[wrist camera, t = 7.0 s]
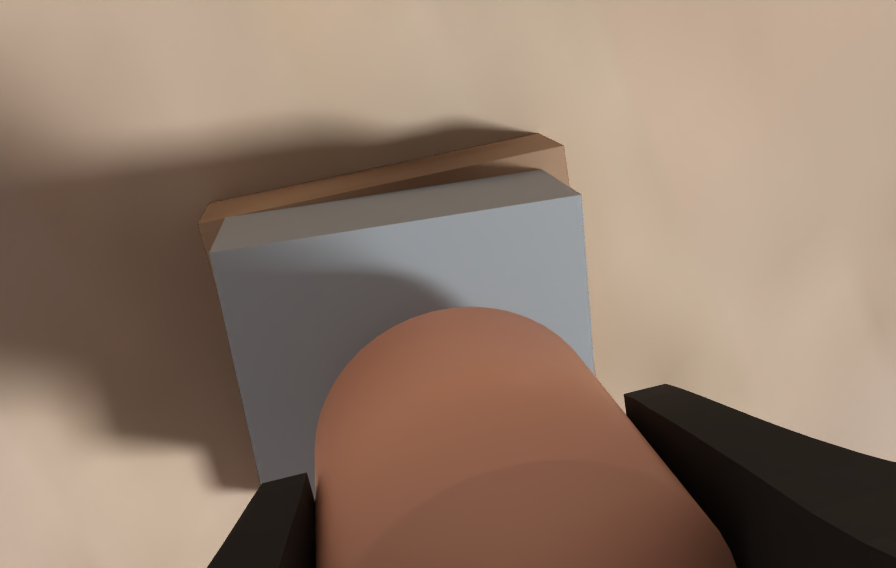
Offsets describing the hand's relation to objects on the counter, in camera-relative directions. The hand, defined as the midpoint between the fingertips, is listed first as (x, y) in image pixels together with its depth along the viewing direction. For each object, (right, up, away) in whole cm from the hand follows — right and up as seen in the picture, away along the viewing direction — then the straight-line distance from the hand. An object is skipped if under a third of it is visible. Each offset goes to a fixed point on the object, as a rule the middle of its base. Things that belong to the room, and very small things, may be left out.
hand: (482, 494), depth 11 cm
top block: (-1, +2, +5) cm, 6 cm away
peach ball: (0, 0, +1) cm, 2 cm away
